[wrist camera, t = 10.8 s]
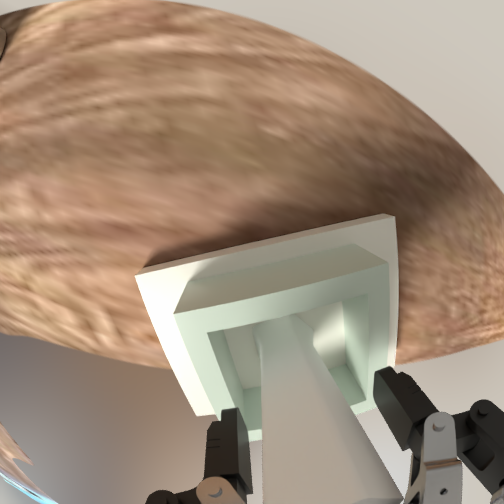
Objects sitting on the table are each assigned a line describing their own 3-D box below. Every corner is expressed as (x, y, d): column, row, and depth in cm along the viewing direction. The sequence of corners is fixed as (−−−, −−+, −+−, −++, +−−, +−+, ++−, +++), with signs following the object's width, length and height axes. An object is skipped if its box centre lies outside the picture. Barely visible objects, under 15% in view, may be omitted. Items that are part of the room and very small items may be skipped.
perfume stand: (198, 403, 19) (191, 455, 14) (142, 268, 16) (107, 304, 11) (386, 356, 19) (417, 397, 14) (383, 213, 16) (435, 227, 11)
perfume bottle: (263, 294, 16) (332, 596, 1) (326, 318, 16) (452, 541, 2) (232, 354, 16) (235, 599, 2) (292, 372, 17) (350, 582, 3)
